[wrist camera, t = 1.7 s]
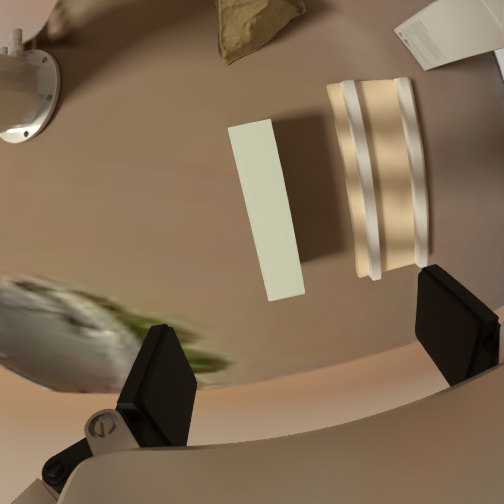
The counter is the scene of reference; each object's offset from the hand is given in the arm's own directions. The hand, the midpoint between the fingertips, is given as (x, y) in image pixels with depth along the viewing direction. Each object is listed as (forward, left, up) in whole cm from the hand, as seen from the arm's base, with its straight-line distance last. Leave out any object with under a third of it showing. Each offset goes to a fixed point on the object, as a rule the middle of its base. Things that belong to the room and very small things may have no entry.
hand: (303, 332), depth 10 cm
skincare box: (-17, +24, -23) cm, 37 cm away
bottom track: (0, +14, -23) cm, 27 cm away
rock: (-19, +4, -23) cm, 30 cm away
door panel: (0, 0, -23) cm, 23 cm away
